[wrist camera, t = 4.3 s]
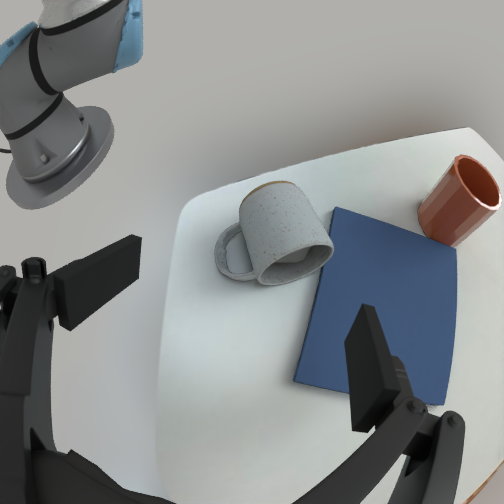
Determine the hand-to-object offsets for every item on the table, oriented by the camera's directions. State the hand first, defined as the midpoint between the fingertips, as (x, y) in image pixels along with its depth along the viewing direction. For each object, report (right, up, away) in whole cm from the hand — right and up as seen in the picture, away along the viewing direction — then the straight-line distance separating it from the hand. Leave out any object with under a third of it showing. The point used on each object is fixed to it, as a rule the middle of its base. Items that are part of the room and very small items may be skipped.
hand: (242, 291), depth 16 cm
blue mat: (+16, -4, +13) cm, 21 cm away
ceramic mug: (+2, +2, +15) cm, 16 cm away
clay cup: (+27, +6, +18) cm, 33 cm away
